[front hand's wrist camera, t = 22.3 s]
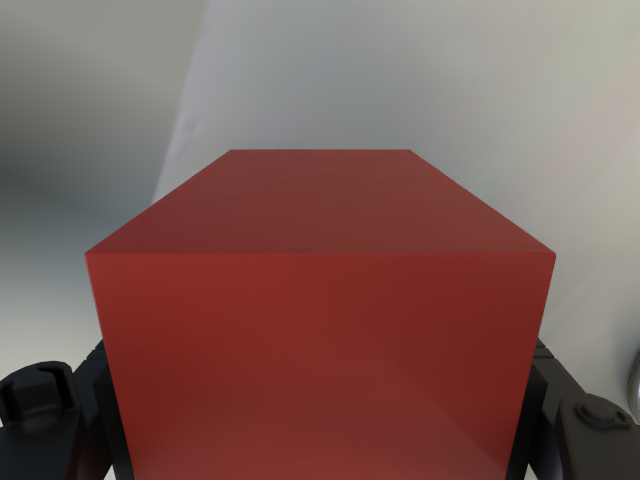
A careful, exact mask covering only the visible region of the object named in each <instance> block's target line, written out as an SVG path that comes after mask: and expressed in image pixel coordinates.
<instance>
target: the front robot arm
mask: <svg viewBox="0 0 640 480" xmlns="http://www.w3.org/2000/svg"><path fill="white" fill-rule="evenodd" d="M628 400H629V404H630V408H631V410H632V412H633V414H634V416H635V418H636V419H637V421H638V422H639V423H640V353H639V355H638V357H637V359H636V361H635V363H634V365H633V367H632V370H631V373H630V377H629V382H628ZM0 418H1V421H2V424H3V427H0V480H104V478H105V476H106V474H107V473H108V471H109V469H110V467H111V465H113V469H114V473H115V477H116V480H135V477H134V473H133V468H132V464H131V460H130V455H129V451H128V447H127V442H126V438H125V433H124V429H123V425H122V420H121V416H120V411H119V407H118V403H117V398H116V394H115V389H114V385H113V381H112V376H111V372H110V367H109V363H108V359H107V354H106V350H105V346H104V341H103V339H102V340H101V341H100V342H99V344H98V345H97V346H96V347H95V350H92V352H91V353H90V354H89V355H88V356H87V359H86V360H84V361H83V362H82V363H81V365H80V366H79V367H78V368H77V369H76V370H75V372H74V373H72V369H71V367H70V366H69V365H68V364H66V363H65V362H59V361H47V362H40V363H36V364H33V365H29V366H26V367H24V368H22V369H19V370H17V371H15V372H13V373H11V374H9V375H8V376H7V377H5V378H4V379H2V380H1V381H0ZM528 463H529V465H530V466H531V468H532V470H533V472H534V474H535V475H536V477H537V479H538V480H640V425H636V423H635V422H634V421H633V419H632V418H631V416H630V415H629V414H628V413H626V412H625V411H624V410H623V409H622V408H620V407H619V406H618V405H616V404H614V403H612V402H610V401H608V400H606V399H605V398H602V397H599V396H596V395H593V394H588V393H586V392H585V391H584V390H583V389H582V388H581V387H580V385H579V384H578V383H577V382H576V381H575V380H574V378H573V377H572V376H571V375H570V374H569V373H568V372H567V370H566V369H565V368H564V367H563V366H562V365H561V363H560V362H559V361H558V360H557V359H554V355H553V354H552V353H551V352H550V351H549V350H548V348H545V345H544V344H543V343H542V341H541V340H540V339H539V338H537V343H536V347H535V351H534V356H533V360H532V365H531V369H530V373H529V378H528V382H527V387H526V391H525V395H524V400H523V404H522V409H521V413H520V417H519V422H518V426H517V430H516V435H515V439H514V444H513V448H512V452H511V457H510V461H509V466H508V470H507V474H506V479H505V480H524V478H525V474H526V470H527V467H528Z"/></svg>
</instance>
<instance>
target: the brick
mask: <svg viewBox="0 0 640 480" xmlns="http://www.w3.org/2000/svg"><path fill="white" fill-rule="evenodd" d="M84 258H85V262H86V266H87V271H88V275H89V280H90V284H91V288H92V293H93V297H94V302H95V306H96V310H97V314H98V319H99V324H100V328H101V332H102V337H103V341H104V346H105V350H106V354H107V359H108V363H109V367H110V372H111V376H112V381H113V385H114V389H115V394H116V398H117V403H118V407H119V411H120V416H121V420H122V425H123V429H124V433H125V438H126V442H127V447H128V451H129V455H130V460H131V464H132V468H133V473H134V477H135V480H505V479H506V474H507V470H508V466H509V461H510V457H511V452H512V448H513V444H514V439H515V435H516V430H517V426H518V422H519V417H520V413H521V409H522V404H523V400H524V395H525V391H526V387H527V382H528V378H529V373H530V369H531V365H532V360H533V356H534V351H535V347H536V343H537V338H538V334H539V330H540V325H541V321H542V316H543V312H544V308H545V303H546V299H547V294H548V290H549V286H550V281H551V277H552V273H553V268H554V264H555V259H556V254H555V252H553V251H552V250H550V249H549V248H548V247H546V246H545V245H543V244H542V243H541V242H539V241H538V240H536V239H535V238H534V237H532V236H531V235H529V234H528V233H527V232H525V231H524V230H522V229H521V228H519V227H518V226H517V225H515V224H514V223H512V222H511V221H510V220H508V219H507V218H505V217H504V216H503V215H501V214H500V213H498V212H497V211H495V210H494V209H493V208H491V207H490V206H488V205H487V204H486V203H484V202H483V201H481V200H480V199H479V198H477V197H476V196H474V195H473V194H472V193H470V192H469V191H467V190H466V189H464V188H463V187H462V186H460V185H459V184H457V183H456V182H455V181H453V180H452V179H450V178H449V177H448V176H446V175H445V174H443V173H442V172H440V171H439V170H438V169H436V168H435V167H433V166H432V165H431V164H429V163H428V162H426V161H425V160H424V159H422V158H421V157H419V156H418V155H416V154H415V153H414V152H412V151H411V150H230V151H228V152H227V153H225V154H224V155H222V156H221V157H220V158H218V159H217V160H215V161H214V162H213V163H211V164H210V165H208V166H207V167H206V168H204V169H203V170H201V171H200V172H198V173H197V174H196V175H194V176H193V177H191V178H190V179H189V180H187V181H186V182H184V183H183V184H182V185H180V186H179V187H177V188H176V189H174V190H173V191H172V192H170V193H169V194H167V195H166V196H165V197H163V198H162V199H160V200H159V201H158V202H156V203H155V204H153V205H152V206H150V207H149V208H148V209H146V210H145V211H143V212H142V213H141V214H139V215H138V216H136V217H135V218H134V219H132V220H131V221H129V222H128V223H127V224H125V225H124V226H122V227H121V228H119V229H118V230H117V231H115V232H114V233H112V234H111V235H110V236H108V237H107V238H105V239H104V240H103V241H101V242H100V243H98V244H97V245H95V246H94V247H93V248H91V249H90V250H88V251H87V252H86V253H85V255H84Z"/></svg>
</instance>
